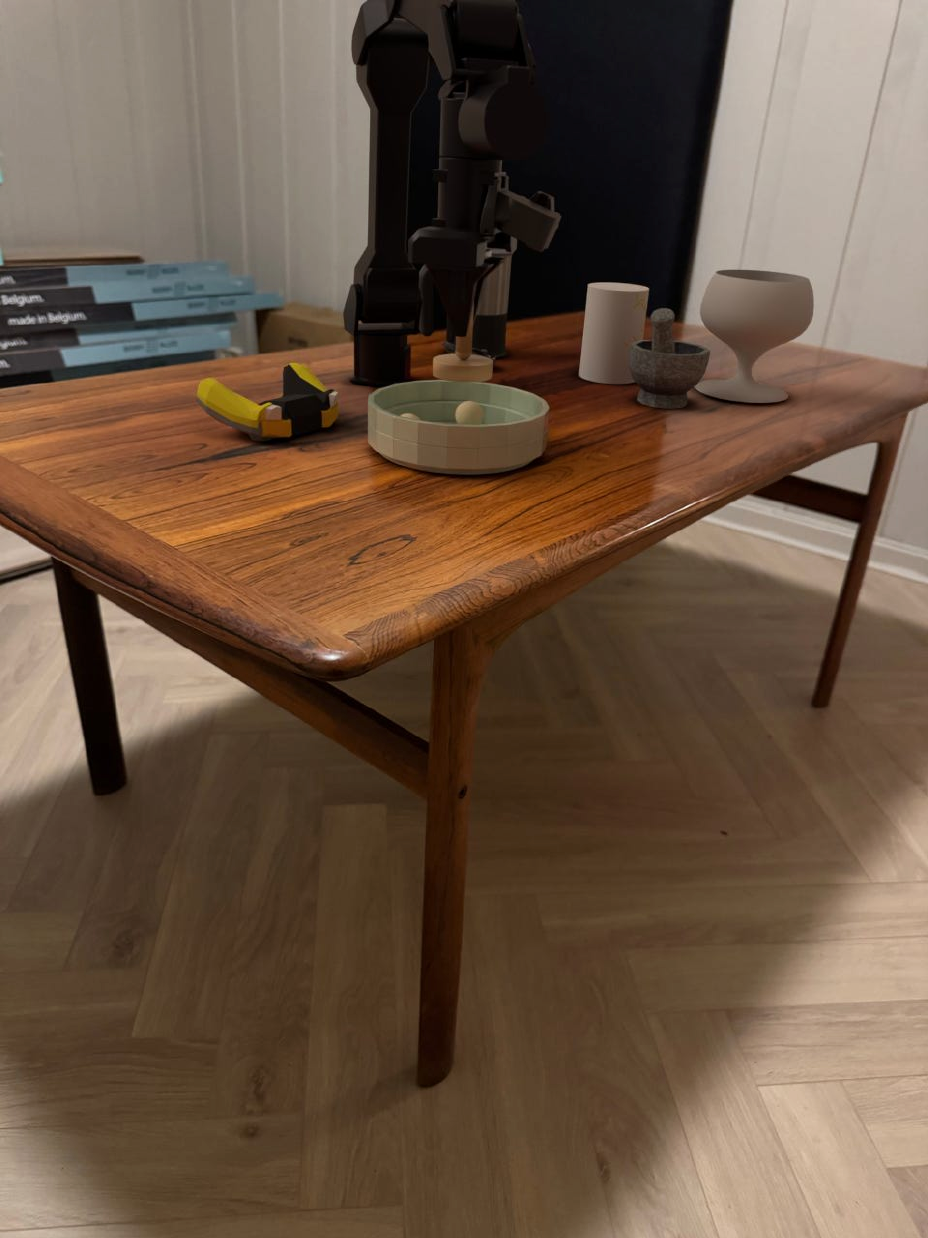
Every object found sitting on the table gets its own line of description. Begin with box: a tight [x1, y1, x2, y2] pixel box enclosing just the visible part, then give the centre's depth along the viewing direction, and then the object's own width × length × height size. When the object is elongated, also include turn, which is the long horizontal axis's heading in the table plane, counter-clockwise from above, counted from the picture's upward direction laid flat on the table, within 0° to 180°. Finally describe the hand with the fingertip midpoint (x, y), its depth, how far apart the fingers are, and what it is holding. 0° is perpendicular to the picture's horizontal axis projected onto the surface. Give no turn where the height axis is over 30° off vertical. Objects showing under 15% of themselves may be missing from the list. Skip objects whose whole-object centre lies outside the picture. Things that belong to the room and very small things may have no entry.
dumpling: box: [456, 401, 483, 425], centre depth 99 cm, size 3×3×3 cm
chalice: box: [694, 269, 815, 404], centre depth 120 cm, size 14×14×15 cm
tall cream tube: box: [578, 282, 650, 385], centre depth 126 cm, size 8×8×12 cm
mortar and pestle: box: [628, 307, 711, 410], centre depth 114 cm, size 11×9×12 cm
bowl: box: [367, 379, 550, 476], centre depth 94 cm, size 18×18×5 cm
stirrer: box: [432, 302, 494, 382], centre depth 90 cm, size 6×6×10 cm
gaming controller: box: [196, 361, 340, 442], centre depth 98 cm, size 15×6×10 cm
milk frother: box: [418, 248, 515, 366], centre depth 132 cm, size 14×16×15 cm
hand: (463, 334), depth 91 cm, fingers closed on stirrer
